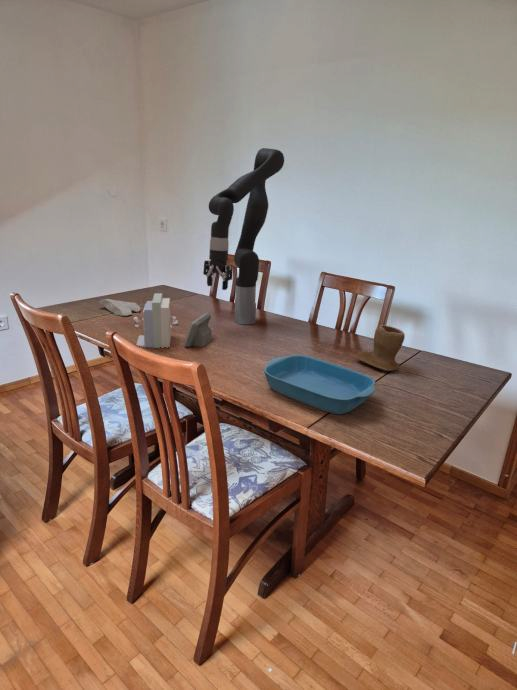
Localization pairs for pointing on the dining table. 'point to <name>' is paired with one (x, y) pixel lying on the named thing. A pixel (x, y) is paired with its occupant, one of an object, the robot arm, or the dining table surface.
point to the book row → (156, 323)
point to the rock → (120, 307)
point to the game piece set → (142, 319)
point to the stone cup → (384, 348)
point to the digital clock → (199, 332)
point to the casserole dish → (319, 383)
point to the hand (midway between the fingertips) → (216, 287)
